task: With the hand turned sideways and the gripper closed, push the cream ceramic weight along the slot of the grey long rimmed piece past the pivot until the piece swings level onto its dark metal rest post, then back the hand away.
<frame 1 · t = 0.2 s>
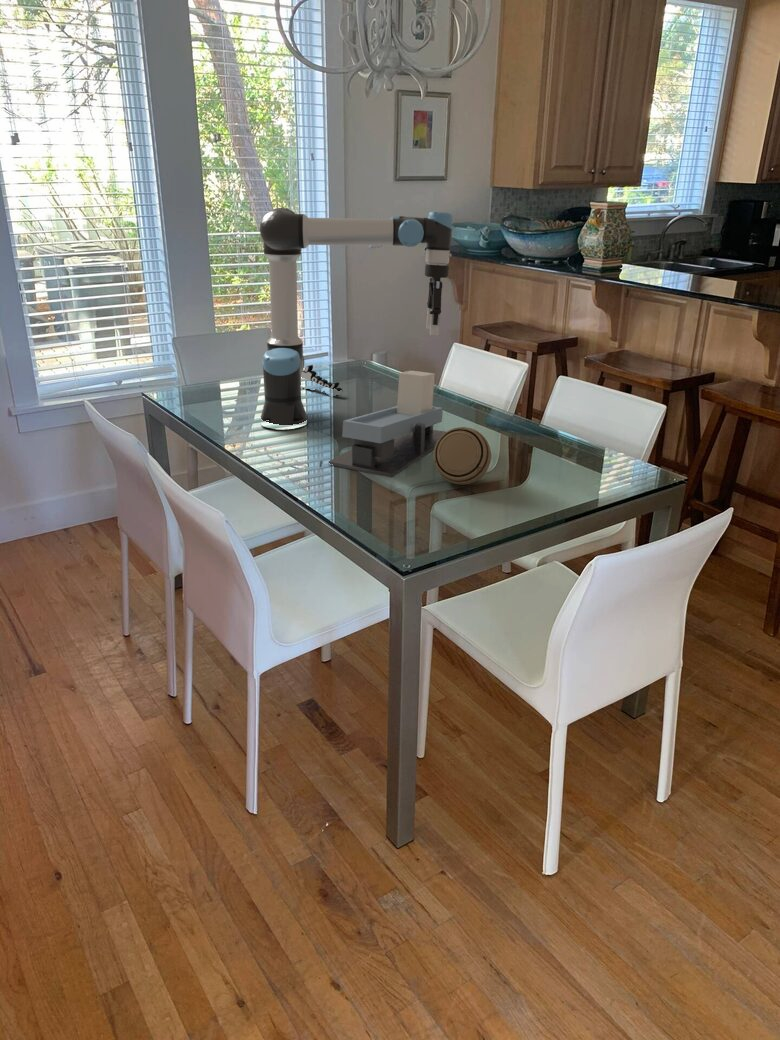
hand: (432, 331, 258), 28 cm above the table, tool pointing down, fingers open, 13 cm apart
beam stand: (395, 449, 233), on the table
logo: (320, 394, 293), on the table
grey long rimmed piece: (395, 429, 231), point 6 cm above the table, hinge at -6.1°, touching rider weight
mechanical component: (460, 483, 209), on the table
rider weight: (414, 412, 240), point 8 cm above the table, tilted 6°, touching grey long rimmed piece
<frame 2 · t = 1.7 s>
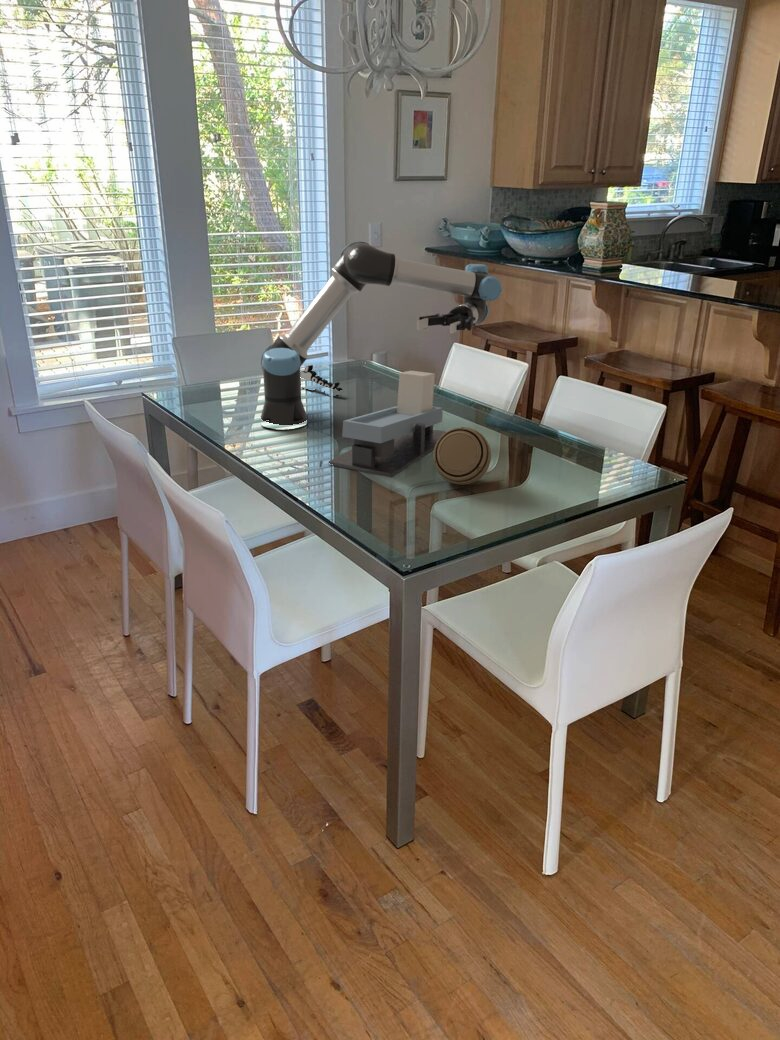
hand: (434, 327, 241), 32 cm above the table, tool horizontal, fingers open, 10 cm apart
nothing on the table moved.
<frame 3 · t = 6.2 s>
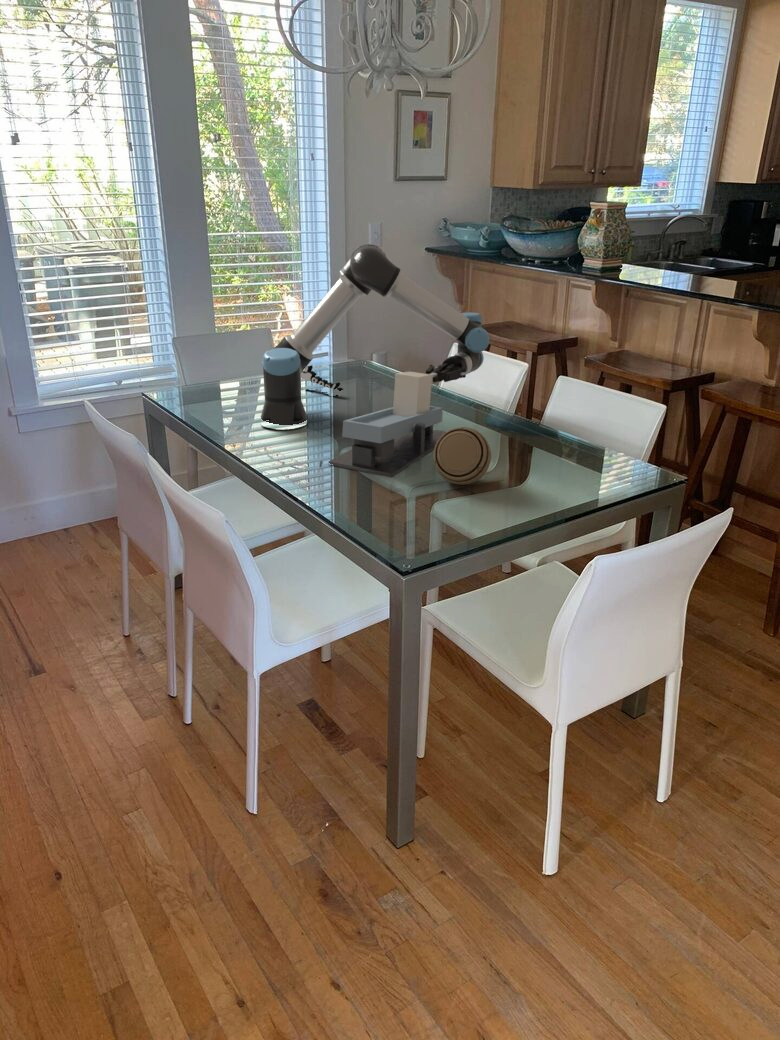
hand: (425, 381, 237), 18 cm above the table, tool horizontal, fingers closed
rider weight: (411, 414, 238), point 8 cm above the table, tilted 6°, touching grey long rimmed piece, gripper
everything else where it was.
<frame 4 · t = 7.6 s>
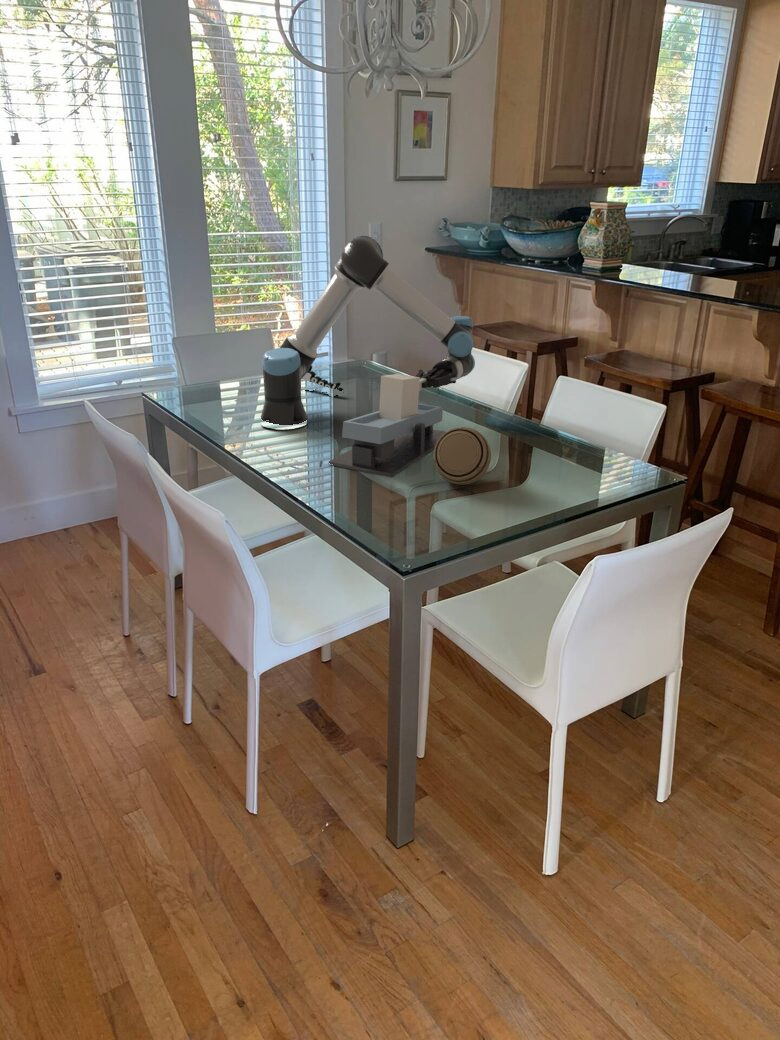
hand: (414, 387, 230), 18 cm above the table, tool horizontal, fingers closed
grey long rimmed piece: (395, 429, 231), point 6 cm above the table, hinge at -5.4°, touching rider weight
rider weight: (398, 417, 231), point 9 cm above the table, tilted 5°, touching grey long rimmed piece, gripper
everything else where it was.
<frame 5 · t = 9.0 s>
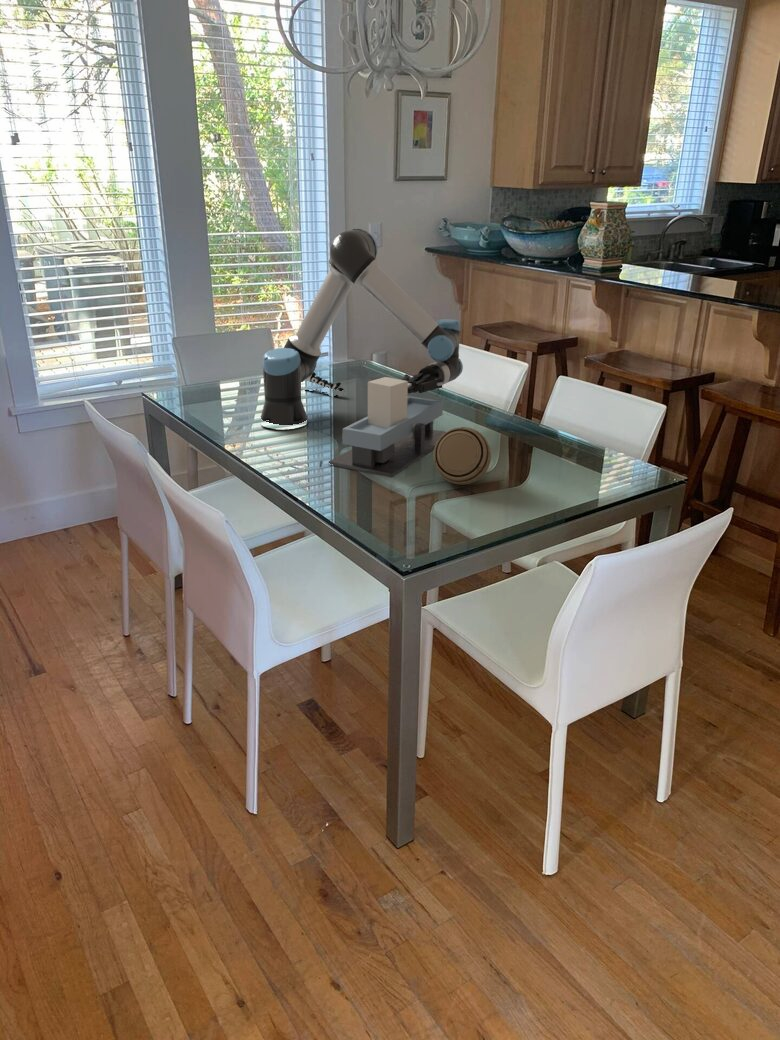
hand: (399, 392, 225), 18 cm above the table, tool horizontal, fingers closed
grey long rimmed piece: (395, 429, 231), point 6 cm above the table, hinge at 0.1°, touching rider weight
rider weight: (387, 422, 226), point 9 cm above the table, touching grey long rimmed piece
everything else where it was.
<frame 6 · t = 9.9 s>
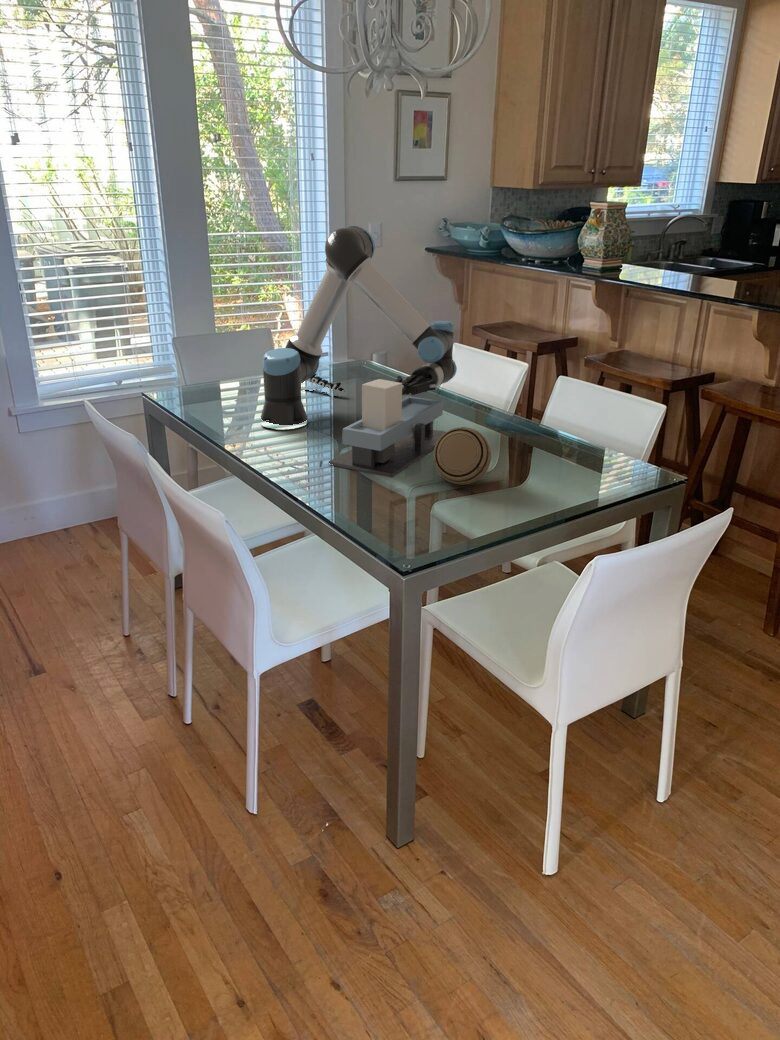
hand: (391, 394, 223), 17 cm above the table, tool horizontal, fingers closed
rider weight: (381, 425, 223), point 9 cm above the table, touching grey long rimmed piece, gripper
everything else where it was.
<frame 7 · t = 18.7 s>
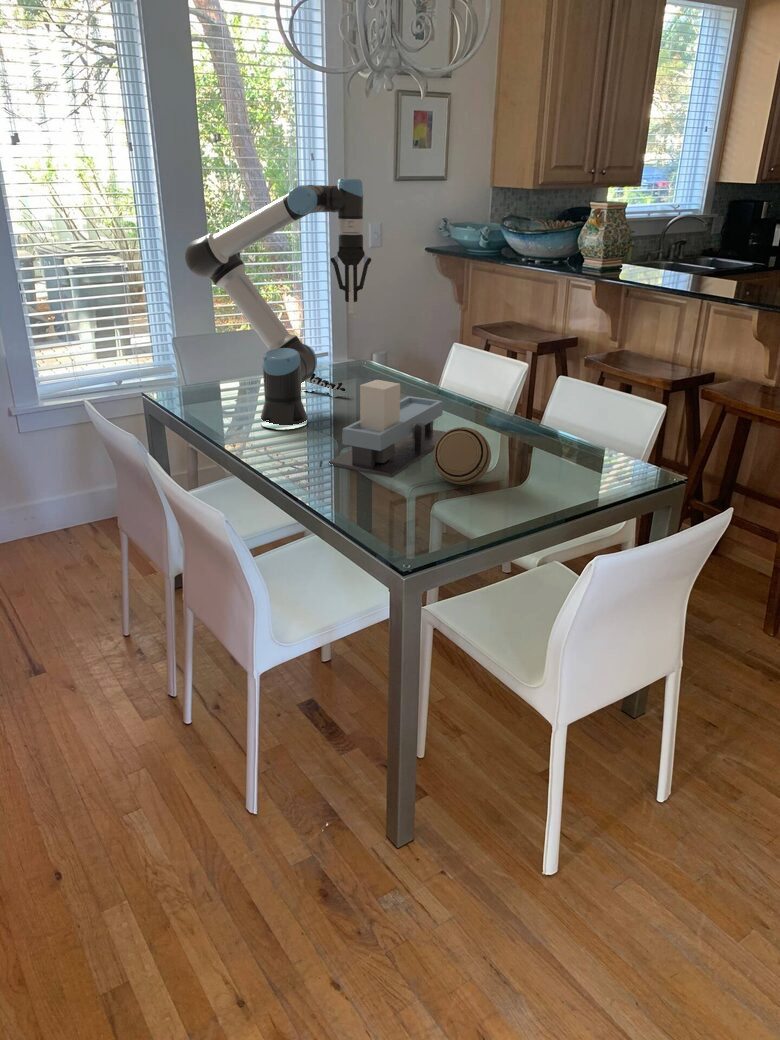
hand: (351, 312, 250), 34 cm above the table, tool pointing down, fingers closed
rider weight: (380, 426, 223), point 9 cm above the table, touching grey long rimmed piece
at the end: grey long rimmed piece at +0° (first picture: -6°); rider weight point 9.5 cm above the table; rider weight tilted 0° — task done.
